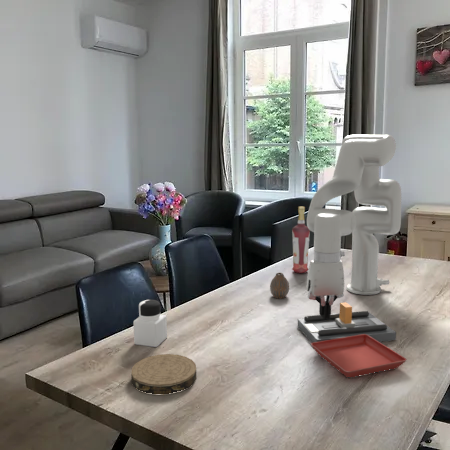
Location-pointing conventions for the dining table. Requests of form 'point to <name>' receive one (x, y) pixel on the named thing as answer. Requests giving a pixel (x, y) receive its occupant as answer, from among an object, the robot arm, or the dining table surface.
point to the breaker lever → (345, 316)
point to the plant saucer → (358, 355)
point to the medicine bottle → (150, 324)
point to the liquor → (300, 244)
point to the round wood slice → (163, 374)
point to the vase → (279, 286)
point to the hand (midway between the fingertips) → (324, 317)
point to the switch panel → (331, 322)
